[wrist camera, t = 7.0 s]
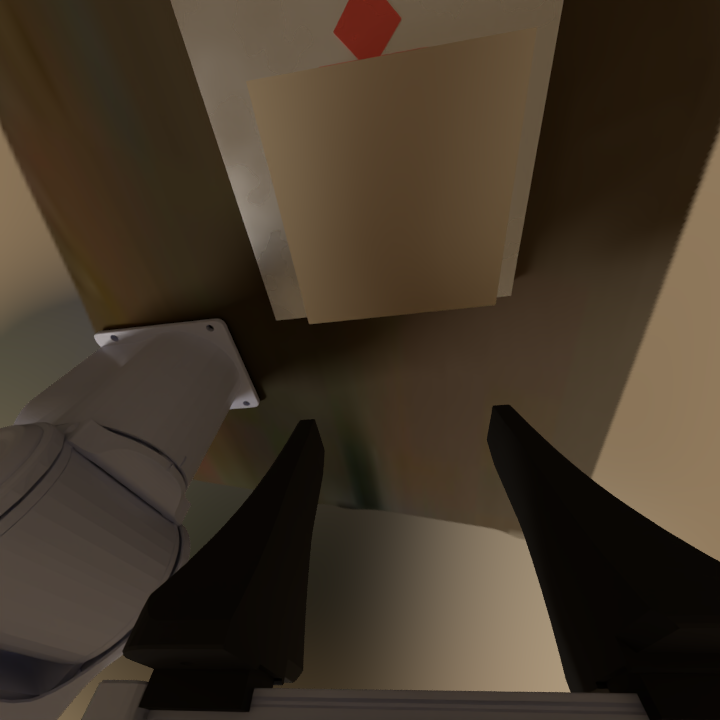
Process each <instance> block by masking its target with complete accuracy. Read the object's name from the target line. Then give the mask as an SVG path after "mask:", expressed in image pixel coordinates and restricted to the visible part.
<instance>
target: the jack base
mask: <svg viewBox="0 0 720 720" xmlns="http://www.w3.org/2000/svg"><path fill="white" fill-rule="evenodd" d="M563 1H564V0H171V3H172V6H173V9H174V12H175V15H176V18H177V21H178V24H179V27H180V30H181V34H182V37H183V40H184V43H185V46H186V49H187V52H188V55H189V58H190V61H191V64H192V67H193V70H194V73H195V76H196V79H197V82H198V85H199V88H200V91H201V94H202V97H203V100H204V103H205V106H206V109H207V112H208V115H209V118H210V121H211V124H212V127H213V130H214V133H215V136H216V139H217V143H218V146H219V149H220V152H221V155H222V158H223V161H224V164H225V167H226V170H227V173H228V176H229V179H230V182H231V185H232V188H233V191H234V194H235V197H236V200H237V203H238V206H239V209H240V212H241V215H242V218H243V221H244V224H245V227H246V230H247V233H248V236H249V239H250V242H251V245H252V248H253V252H254V255H255V258H256V261H257V264H258V267H259V270H260V273H261V276H262V279H263V282H264V285H265V288H266V291H267V294H268V297H269V300H270V303H271V306H272V309H273V312H274V315H275V318H276V321H277V320H286V319H296V318H305V317H307V314H306V310H305V307H304V303H303V299H302V295H301V291H300V287H299V283H298V280H297V276H296V272H295V268H294V264H293V260H292V257H291V253H290V249H289V245H288V241H287V237H286V233H285V230H284V226H283V222H282V218H281V214H280V210H279V206H278V203H277V199H276V195H275V191H274V187H273V183H272V180H271V176H270V172H269V168H268V164H267V160H266V156H265V153H264V149H263V145H262V141H261V137H260V133H259V130H258V126H257V122H256V118H255V114H254V110H253V106H252V103H251V99H250V95H249V91H248V87H247V83H246V81H250V80H255V79H260V78H266V77H271V76H276V75H282V74H287V73H292V72H298V71H303V70H308V69H314V68H319V67H324V66H330V65H335V64H341V63H346V62H351V61H357V60H362V59H367V58H373V57H378V56H383V55H389V54H394V53H399V52H405V51H410V50H415V49H421V48H426V47H432V46H437V45H442V44H448V43H453V42H458V41H464V40H469V39H474V38H480V37H485V36H490V35H496V34H501V33H506V32H512V31H517V30H522V29H528V28H533V27H537V32H536V38H535V45H534V52H533V58H532V65H531V72H530V78H529V85H528V92H527V99H526V105H525V112H524V119H523V125H522V132H521V139H520V145H519V152H518V159H517V165H516V172H515V179H514V185H513V192H512V199H511V205H510V212H509V219H508V226H507V232H506V239H505V246H504V252H503V259H502V266H501V272H500V279H499V286H498V292H497V297H503V296H511V292H512V287H513V281H514V275H515V270H516V264H517V259H518V253H519V247H520V242H521V236H522V231H523V225H524V219H525V214H526V208H527V203H528V197H529V191H530V186H531V180H532V175H533V169H534V163H535V158H536V152H537V147H538V141H539V135H540V130H541V124H542V119H543V113H544V107H545V102H546V96H547V91H548V85H549V79H550V74H551V68H552V63H553V57H554V51H555V46H556V40H557V35H558V29H559V23H560V18H561V12H562V7H563Z"/></svg>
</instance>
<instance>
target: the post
mask: <svg viewBox="0 0 720 720" xmlns="http://www.w3.org/2000/svg"><path fill="white" fill-rule="evenodd" d="M536 32H537V27H533V28H528V29H522V30H517V31H512V32H506V33H501V34H496V35H490V36H485V37H480V38H474V39H469V40H464V41H458V42H453V43H448V44H442V45H437V46H432V47H426V48H421V49H415V50H410V51H405V52H399V53H394V54H389V55H383V56H378V57H373V58H367V59H362V60H357V61H351V62H346V63H341V64H335V65H330V66H324V67H319V68H314V69H308V70H303V71H298V72H292V73H287V74H282V75H276V76H271V77H266V78H260V79H255V80H250V81H246V83H247V87H248V91H249V95H250V99H251V103H252V106H253V110H254V114H255V118H256V122H257V126H258V130H259V133H260V137H261V141H262V145H263V149H264V153H265V156H266V160H267V164H268V168H269V172H270V176H271V180H272V183H273V187H274V191H275V195H276V199H277V203H278V206H279V210H280V214H281V218H282V222H283V226H284V230H285V233H286V237H287V241H288V245H289V249H290V253H291V257H292V260H293V264H294V268H295V272H296V276H297V280H298V283H299V287H300V291H301V295H302V299H303V303H304V307H305V310H306V314H307V318H308V322H309V324H317V323H327V322H336V321H346V320H356V319H365V318H375V317H385V316H394V315H404V314H414V313H423V312H433V311H443V310H452V309H462V308H472V307H481V306H491V305H496V299H497V292H498V286H499V279H500V272H501V266H502V259H503V252H504V246H505V239H506V232H507V226H508V219H509V212H510V205H511V199H512V192H513V185H514V179H515V172H516V165H517V159H518V152H519V145H520V139H521V132H522V125H523V119H524V112H525V105H526V99H527V92H528V85H529V78H530V72H531V65H532V58H533V52H534V45H535V38H536Z"/></svg>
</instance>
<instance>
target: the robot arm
mask: <svg viewBox="0 0 720 720" xmlns="http://www.w3.org/2000/svg"><path fill="white" fill-rule="evenodd" d="M209 325H211V326H213V328H214V329H212V328H210V327H209ZM116 336H117V337H118V338H117V337H116ZM94 338H95V340H96V342H97V343H98V344H99V345H100V347H101V348H100V349H98V350H97V351H96V352H94V353H93V354H92V355H90V356H89V357H88V358H86V359H85V360H84V361H82V362H81V363H80V364H78V365H77V366H76V367H74V368H73V369H72V370H70V371H69V372H68V373H67V374H65V375H64V376H62V377H61V378H60V379H59V380H57V381H56V382H54V383H53V384H52V385H51V386H49V387H48V388H46V389H45V390H44V391H43V392H41V393H40V394H38V395H37V396H36V397H35V398H33V399H32V400H31V401H30V402H29V403H28V404H27V405H26V406H25V407H24V408H23V409H22V410H21V412H20V413H19V415H18V416H17V418H16V420H15V423H14V425H12V426H7V427H3V428H0V720H57V719H58V718H59V717H60V716H61V715H62V713H63V712H64V711H65V710H66V708H67V707H68V706H69V705H70V703H71V702H72V701H73V700H74V699H75V698H76V696H77V695H78V694H79V693H80V692H81V690H82V689H83V688H84V687H85V686H86V685H87V684H88V683H89V682H90V681H91V680H92V679H93V678H94V677H95V676H96V675H97V674H99V673H100V672H101V671H102V670H103V669H104V668H106V667H107V666H108V665H109V664H111V663H112V662H114V661H115V660H116V659H118V658H119V657H120V656H122V655H124V656H125V657H126V658H128V659H130V660H132V661H135V662H137V663H140V664H142V665H145V666H148V667H151V668H153V669H154V670H153V673H152V675H151V678H150V680H149V682H146V681H137V680H103V681H102V682H101V683H99V685H98V687H97V689H96V691H95V693H94V695H93V697H92V699H91V701H90V703H89V705H88V707H87V709H86V711H85V713H84V715H83V717H82V719H81V720H720V562H719V561H718V560H716V559H714V558H712V557H710V556H708V555H707V554H705V553H703V552H701V551H700V550H698V549H696V548H695V547H693V546H691V545H690V544H688V543H686V542H684V541H683V540H681V539H679V538H678V537H676V536H674V535H672V534H671V533H669V532H668V531H666V530H664V529H663V528H661V527H660V526H658V525H657V524H655V523H654V522H652V521H650V520H649V519H648V518H646V517H644V516H643V515H641V514H640V513H638V512H637V511H635V510H634V509H632V508H630V507H629V506H628V505H626V504H625V503H623V502H622V501H620V500H619V499H618V498H616V497H615V496H613V495H612V494H611V493H609V492H608V491H607V490H605V489H604V488H603V487H601V486H600V485H598V484H597V483H596V482H594V481H593V480H592V479H591V478H589V477H588V476H587V475H586V474H584V473H583V472H582V471H581V470H579V469H578V468H577V467H576V466H575V465H573V464H572V463H571V462H570V461H569V460H567V459H566V458H565V457H564V456H563V455H562V454H561V453H559V452H558V451H557V450H556V449H555V448H554V447H553V446H552V445H551V444H550V443H548V442H547V441H546V440H545V439H544V438H543V437H542V436H541V435H540V434H539V433H538V432H537V431H536V430H535V429H534V428H533V427H532V426H530V425H529V424H528V423H527V422H526V421H525V420H524V419H523V418H522V417H521V416H520V415H519V414H518V413H517V412H516V411H515V410H514V409H513V408H512V407H511V406H510V405H497V406H493V408H492V414H491V419H490V425H489V431H488V436H487V442H488V445H489V449H490V452H491V456H492V459H493V462H494V465H495V467H496V470H497V472H498V474H499V477H500V479H501V481H502V484H503V486H504V488H505V491H506V493H507V495H508V498H509V500H510V502H511V504H512V507H513V509H514V511H515V514H516V516H517V518H518V521H519V523H520V526H521V528H522V531H523V534H524V537H525V540H526V542H527V546H528V549H529V551H530V555H531V558H532V561H533V564H534V567H535V571H536V574H537V577H538V580H539V583H540V587H541V589H542V593H543V597H544V600H545V604H546V607H547V610H548V614H549V618H550V621H551V624H552V628H553V632H554V636H555V639H556V643H557V646H558V651H559V654H560V658H561V662H562V666H563V670H564V674H565V678H566V681H567V684H568V686H569V689H570V692H571V693H565V692H564V693H563V692H495V691H494V692H492V691H428V690H427V691H426V690H356V689H289V688H273V685H283V684H284V683H285V682H286V683H288V682H289V683H293V682H295V680H297V678H298V677H299V676H300V674H301V673H302V671H303V655H304V634H305V633H304V632H305V615H306V614H305V613H306V599H307V584H308V572H309V571H308V570H309V560H310V549H311V539H312V532H313V526H314V520H315V515H316V510H317V504H318V499H319V493H320V488H321V482H322V477H323V467H324V447H323V444H322V441H321V438H320V434H319V431H318V428H317V425H316V422H315V419H311V420H300V421H299V422H298V424H297V426H296V428H295V429H294V431H293V433H292V435H291V436H290V438H289V440H288V441H287V443H286V444H285V446H284V448H283V449H282V451H281V452H280V454H279V456H278V457H277V459H276V460H275V462H274V463H273V465H272V466H271V468H270V469H269V470H268V472H267V473H266V475H265V476H264V477H263V479H262V480H261V482H260V483H259V484H258V486H257V487H256V488H255V490H254V491H253V492H252V494H251V495H250V496H249V497H248V499H247V500H246V501H245V502H244V503H243V505H242V506H241V507H240V508H239V509H238V511H237V512H236V513H235V514H234V515H233V516H232V517H231V518H230V520H229V521H228V522H227V523H226V524H225V525H224V526H223V527H222V528H221V530H219V532H218V533H217V534H216V535H215V536H214V537H213V538H212V539H211V540H210V541H209V542H208V543H207V544H206V545H205V546H203V548H201V549H200V551H198V552H197V554H195V555H194V556H193V557H192V558H191V559H190V560H189V554H190V538H189V534H188V532H187V530H186V528H185V527H184V526H183V525H182V522H183V519H184V518H185V516H186V514H187V511H188V510H189V507H190V505H191V503H190V502H189V501H188V500H187V499H186V497H185V492H186V490H187V489H188V486H189V485H190V483H191V481H192V479H193V477H194V475H195V473H196V472H197V470H198V468H199V466H200V464H201V462H202V460H203V458H204V456H205V454H206V453H207V451H208V449H209V447H210V445H211V443H212V441H213V439H214V437H215V436H216V434H217V432H218V430H219V428H220V426H221V424H222V422H223V420H224V418H225V417H226V415H227V413H228V411H229V409H236V408H249V407H257V406H258V405H259V402H260V399H259V397H258V395H257V393H256V390H255V388H254V386H253V384H252V381H251V379H250V377H249V375H248V372H247V370H246V368H245V366H244V363H243V361H242V359H241V357H240V354H239V352H238V350H237V348H236V345H235V343H234V341H233V339H232V336H231V334H230V332H229V330H228V327H227V325H226V323H225V322H224V321H223V320H221V319H207V320H198V321H189V322H179V323H170V324H161V325H152V326H143V327H133V328H124V329H115V330H106V331H99V332H97V333H96V334H95V335H94ZM246 401H247V402H246ZM188 560H189V561H188Z"/></svg>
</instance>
